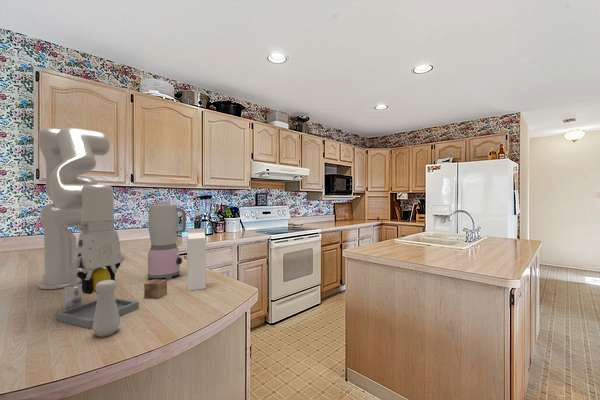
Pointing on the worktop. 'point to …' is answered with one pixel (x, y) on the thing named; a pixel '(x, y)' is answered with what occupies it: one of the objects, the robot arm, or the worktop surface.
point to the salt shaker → (106, 309)
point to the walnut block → (155, 289)
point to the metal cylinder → (73, 296)
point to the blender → (164, 240)
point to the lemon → (99, 276)
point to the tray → (92, 312)
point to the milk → (196, 259)
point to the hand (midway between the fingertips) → (99, 289)
